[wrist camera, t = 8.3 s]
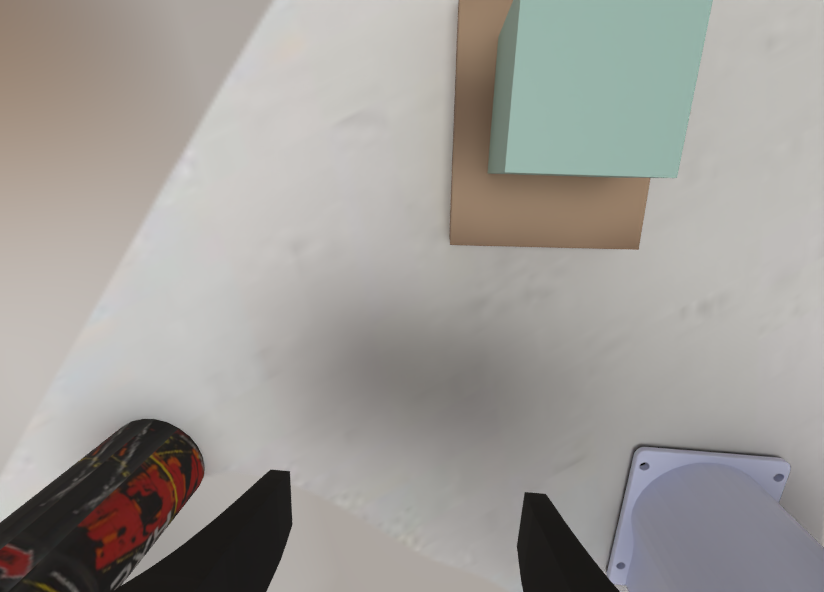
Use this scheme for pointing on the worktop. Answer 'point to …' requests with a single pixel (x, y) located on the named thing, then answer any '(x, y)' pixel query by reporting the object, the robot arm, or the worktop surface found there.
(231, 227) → the worktop surface
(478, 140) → the walnut block
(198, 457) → the deodorant
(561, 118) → the sage cube
